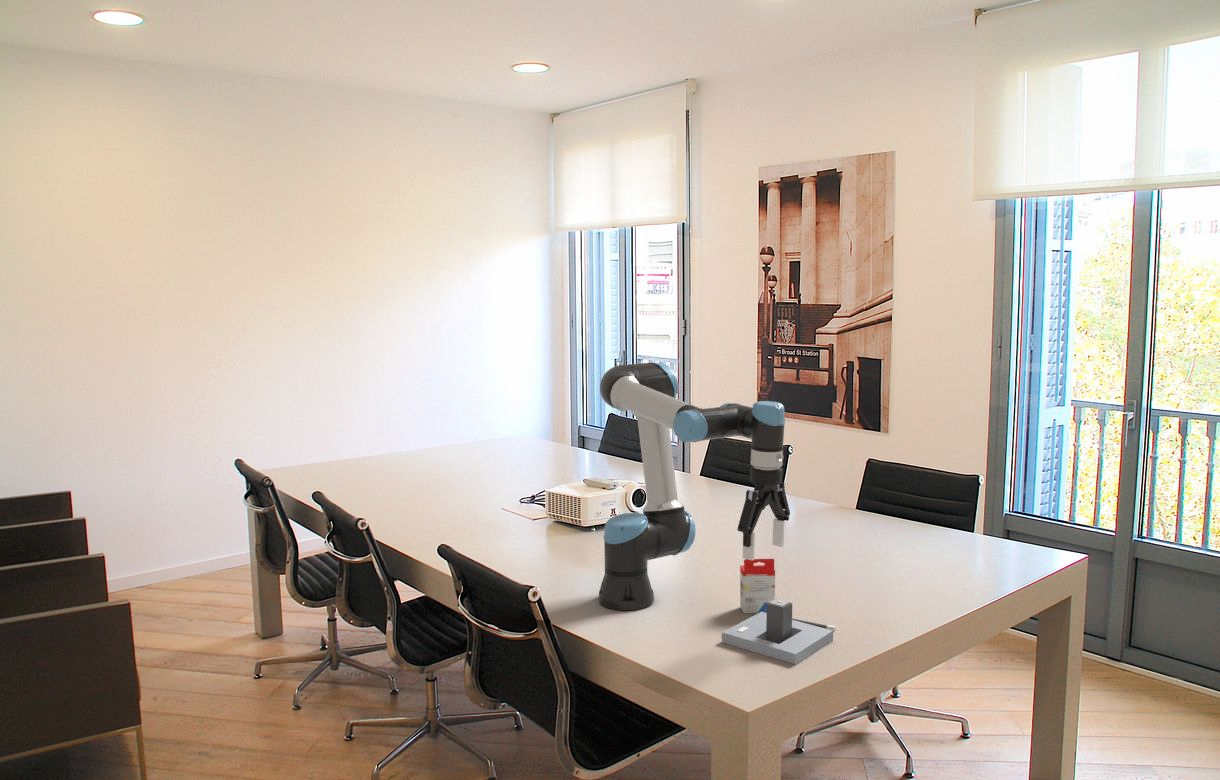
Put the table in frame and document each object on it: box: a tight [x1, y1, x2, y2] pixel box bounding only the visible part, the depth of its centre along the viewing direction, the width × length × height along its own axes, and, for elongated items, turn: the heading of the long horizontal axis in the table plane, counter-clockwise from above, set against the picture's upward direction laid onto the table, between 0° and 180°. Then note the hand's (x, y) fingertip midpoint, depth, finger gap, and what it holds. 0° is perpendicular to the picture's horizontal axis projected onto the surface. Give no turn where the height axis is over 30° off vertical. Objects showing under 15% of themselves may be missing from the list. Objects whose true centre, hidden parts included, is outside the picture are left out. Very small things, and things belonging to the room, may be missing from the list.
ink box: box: [739, 558, 776, 614], centre depth 238 cm, size 8×5×15 cm, turn 92°
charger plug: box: [766, 598, 793, 644], centre depth 216 cm, size 4×4×11 cm
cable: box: [792, 617, 837, 632], centre depth 229 cm, size 17×1×1 cm, turn 57°
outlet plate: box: [721, 612, 834, 666], centre depth 218 cm, size 20×18×3 cm
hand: (763, 552), depth 218 cm, fingers open, 13 cm apart
